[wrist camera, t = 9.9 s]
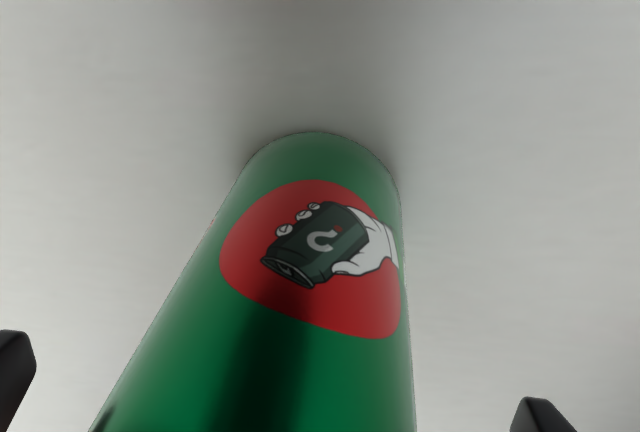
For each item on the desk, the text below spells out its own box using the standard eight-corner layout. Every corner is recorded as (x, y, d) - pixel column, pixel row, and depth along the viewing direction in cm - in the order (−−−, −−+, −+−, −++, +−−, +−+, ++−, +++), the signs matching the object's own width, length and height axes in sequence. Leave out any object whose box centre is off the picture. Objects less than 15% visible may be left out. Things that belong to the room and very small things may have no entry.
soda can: (213, 150, 15) (-152, 617, 5) (375, 103, 14) (360, 597, 4) (272, 281, 17) (109, 797, 7) (416, 251, 16) (480, 821, 6)
